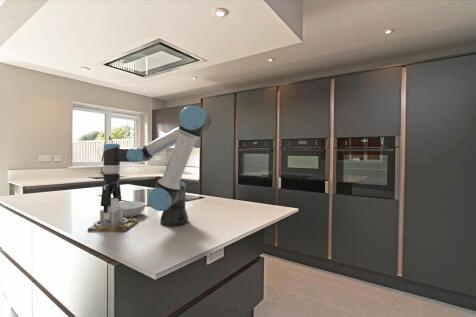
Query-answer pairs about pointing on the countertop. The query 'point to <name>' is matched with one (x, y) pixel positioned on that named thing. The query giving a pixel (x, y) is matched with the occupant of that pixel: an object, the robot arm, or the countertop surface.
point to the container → (112, 213)
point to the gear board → (114, 226)
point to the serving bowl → (131, 208)
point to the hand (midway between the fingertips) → (111, 216)
